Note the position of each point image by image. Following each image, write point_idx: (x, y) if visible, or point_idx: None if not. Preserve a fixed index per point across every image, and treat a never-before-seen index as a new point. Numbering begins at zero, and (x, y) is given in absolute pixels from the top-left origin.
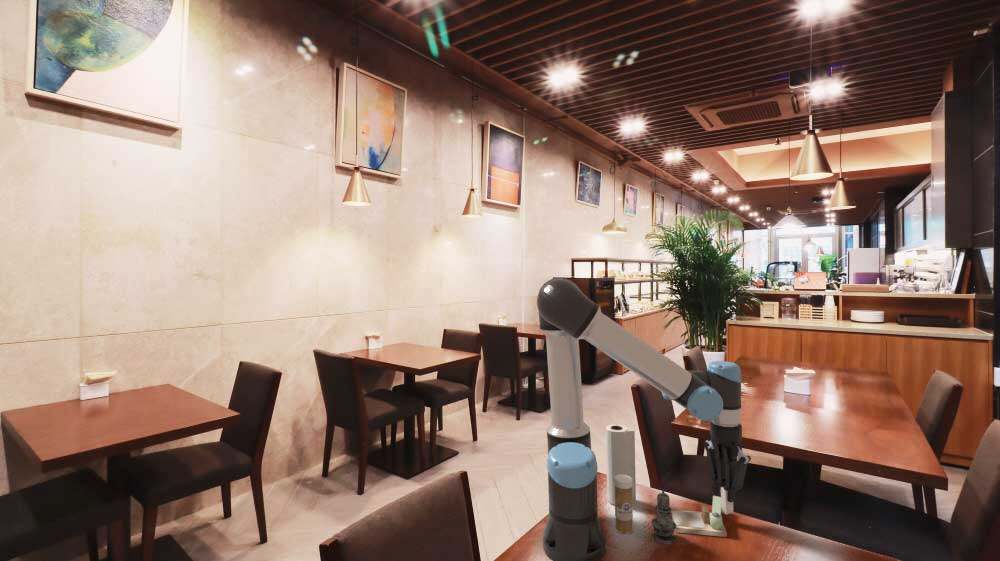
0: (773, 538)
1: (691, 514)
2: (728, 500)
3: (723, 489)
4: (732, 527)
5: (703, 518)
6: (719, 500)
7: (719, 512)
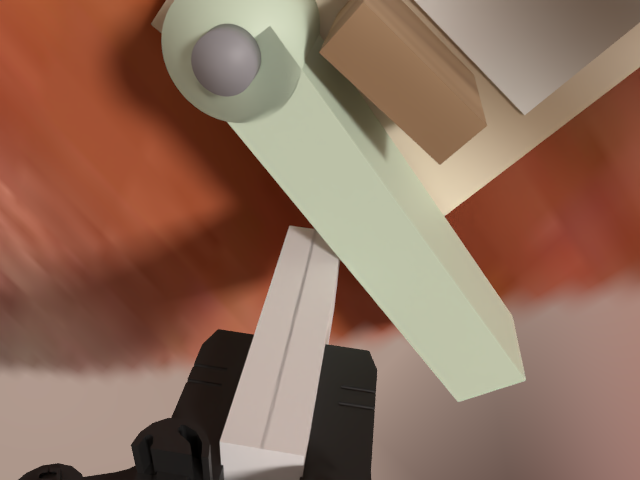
0: (54, 268)
1: (583, 4)
2: (242, 342)
3: (255, 436)
4: (259, 184)
5: (421, 25)
6: (431, 349)
7: (272, 161)
